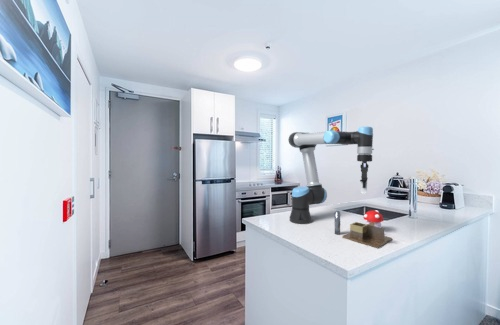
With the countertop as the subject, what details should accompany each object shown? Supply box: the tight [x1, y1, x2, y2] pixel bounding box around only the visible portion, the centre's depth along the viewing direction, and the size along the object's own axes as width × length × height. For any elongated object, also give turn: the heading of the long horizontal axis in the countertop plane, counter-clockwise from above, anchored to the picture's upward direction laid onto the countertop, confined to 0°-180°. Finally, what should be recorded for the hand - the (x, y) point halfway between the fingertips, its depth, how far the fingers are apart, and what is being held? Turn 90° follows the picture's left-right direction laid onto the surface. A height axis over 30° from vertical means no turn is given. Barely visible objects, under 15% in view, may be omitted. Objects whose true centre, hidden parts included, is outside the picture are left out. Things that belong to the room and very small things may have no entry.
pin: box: [334, 210, 341, 236], centre depth 124 cm, size 3×3×13 cm
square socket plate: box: [341, 221, 393, 249], centre depth 116 cm, size 18×18×8 cm
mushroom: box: [363, 209, 385, 228], centre depth 130 cm, size 11×11×12 cm
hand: (363, 191), depth 122 cm, fingers open, 13 cm apart
